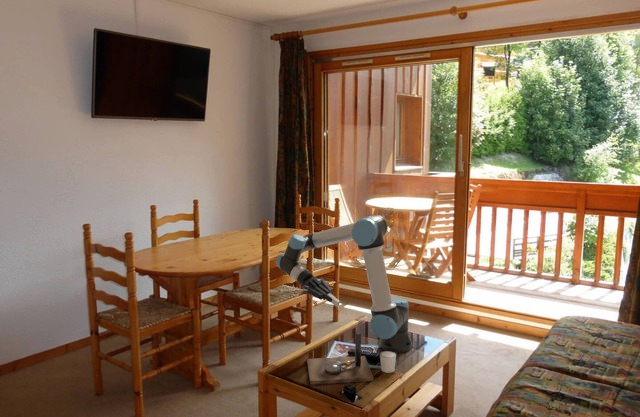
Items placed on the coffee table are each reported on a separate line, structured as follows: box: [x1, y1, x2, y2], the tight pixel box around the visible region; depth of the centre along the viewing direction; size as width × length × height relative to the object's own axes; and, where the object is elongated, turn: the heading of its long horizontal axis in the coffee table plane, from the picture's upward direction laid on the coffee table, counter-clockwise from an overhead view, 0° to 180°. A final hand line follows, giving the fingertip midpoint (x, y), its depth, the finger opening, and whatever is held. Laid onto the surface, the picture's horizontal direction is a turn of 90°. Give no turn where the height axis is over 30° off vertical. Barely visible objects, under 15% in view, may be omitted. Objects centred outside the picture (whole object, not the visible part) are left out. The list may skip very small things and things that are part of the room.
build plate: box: [337, 382, 364, 404], centre depth 188 cm, size 12×7×5 cm, turn 35°
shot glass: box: [379, 350, 397, 374], centre depth 208 cm, size 7×7×7 cm
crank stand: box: [306, 355, 375, 385], centre depth 208 cm, size 26×20×2 cm
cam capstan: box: [324, 332, 362, 374], centre depth 205 cm, size 17×7×14 cm, turn 114°
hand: (338, 303), depth 220 cm, fingers closed
